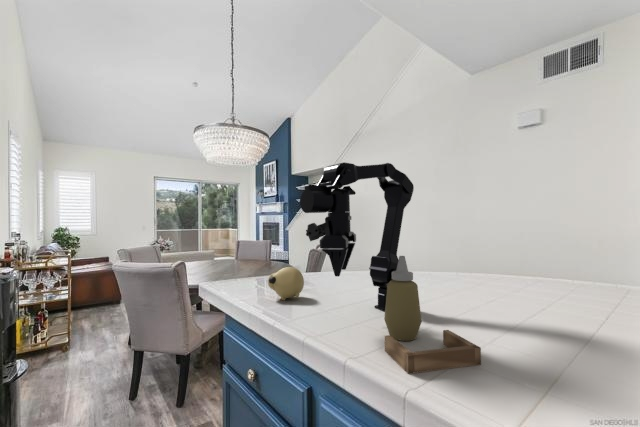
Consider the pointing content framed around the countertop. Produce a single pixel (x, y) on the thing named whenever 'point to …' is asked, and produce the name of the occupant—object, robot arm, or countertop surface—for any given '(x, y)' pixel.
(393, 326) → the squeeze bottle
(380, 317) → the countertop surface
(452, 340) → the bay
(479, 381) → the countertop surface
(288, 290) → the beige round figure
